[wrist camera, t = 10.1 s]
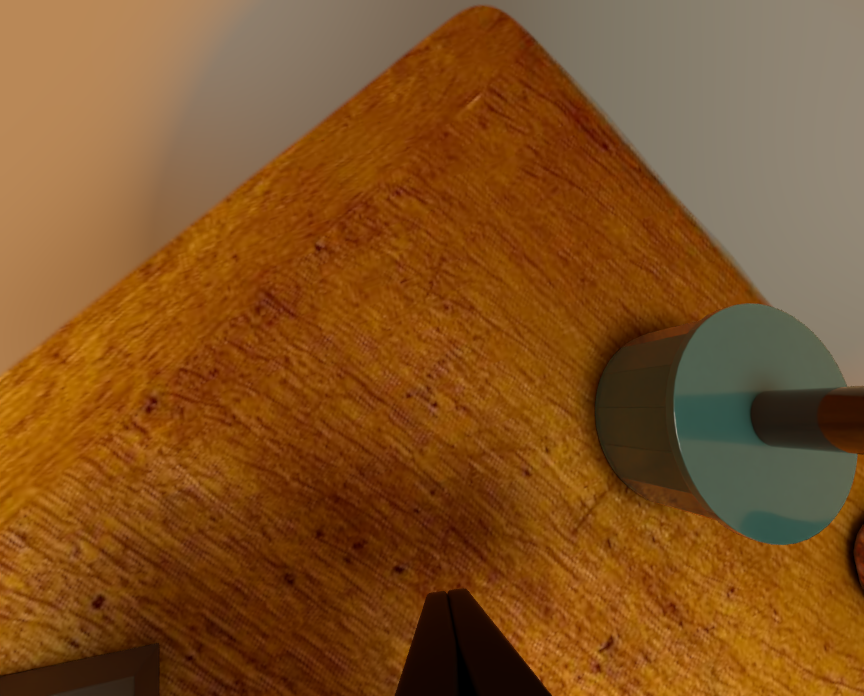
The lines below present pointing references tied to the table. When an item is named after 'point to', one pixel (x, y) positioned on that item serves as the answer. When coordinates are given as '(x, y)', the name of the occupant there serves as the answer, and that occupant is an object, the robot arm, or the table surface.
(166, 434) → the table surface
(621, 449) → the jar
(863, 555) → the sauce bottle
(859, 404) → the jar lid
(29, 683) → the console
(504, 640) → the robot arm
